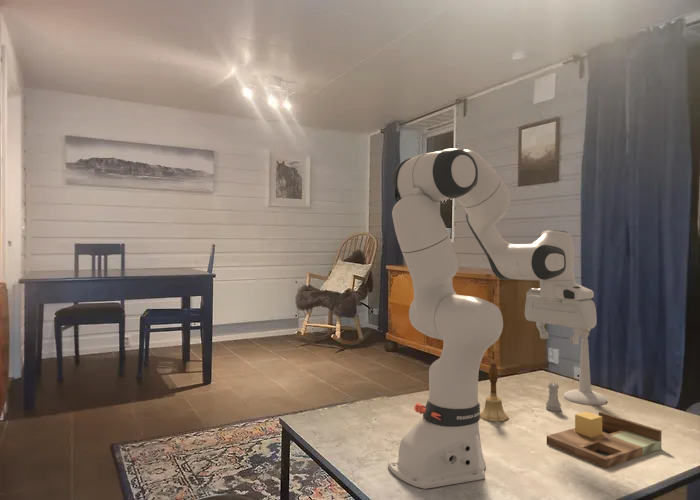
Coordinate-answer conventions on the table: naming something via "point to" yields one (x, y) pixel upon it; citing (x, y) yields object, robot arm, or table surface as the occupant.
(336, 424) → the table surface
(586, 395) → the candlestick
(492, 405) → the hand bell
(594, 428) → the block
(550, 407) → the rook chess piece
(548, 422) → the table surface
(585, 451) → the box
